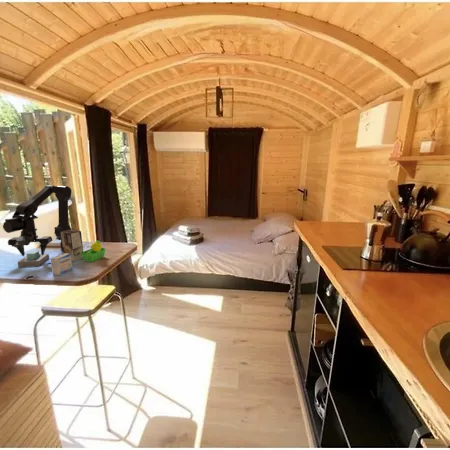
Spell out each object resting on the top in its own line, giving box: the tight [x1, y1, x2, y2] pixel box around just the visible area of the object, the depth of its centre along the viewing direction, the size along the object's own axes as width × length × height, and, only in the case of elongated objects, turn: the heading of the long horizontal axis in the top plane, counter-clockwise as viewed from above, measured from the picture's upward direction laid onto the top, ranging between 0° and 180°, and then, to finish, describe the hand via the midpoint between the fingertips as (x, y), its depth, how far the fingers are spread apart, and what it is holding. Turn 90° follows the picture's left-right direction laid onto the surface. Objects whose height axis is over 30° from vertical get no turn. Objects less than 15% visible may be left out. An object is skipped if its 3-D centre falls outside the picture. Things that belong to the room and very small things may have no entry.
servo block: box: [26, 250, 41, 260], centre depth 138 cm, size 4×7×6 cm, turn 12°
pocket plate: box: [17, 253, 50, 267], centre depth 138 cm, size 10×11×2 cm
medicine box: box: [50, 252, 73, 276], centre depth 126 cm, size 8×4×9 cm, turn 168°
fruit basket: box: [81, 240, 107, 263], centre depth 143 cm, size 11×9×11 cm
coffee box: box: [61, 228, 84, 262], centre depth 143 cm, size 9×6×16 cm
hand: (33, 255), depth 137 cm, fingers open, 9 cm apart
